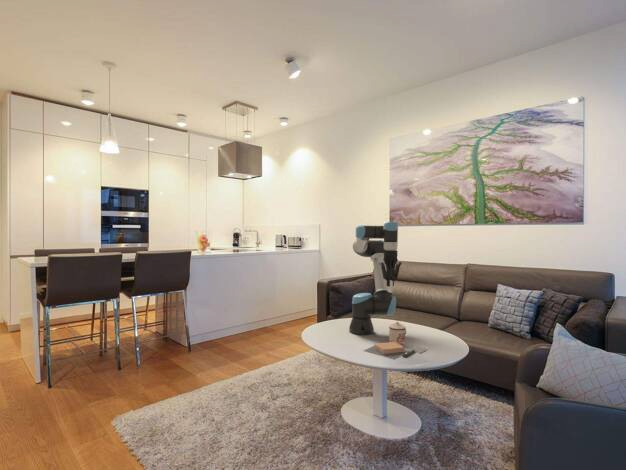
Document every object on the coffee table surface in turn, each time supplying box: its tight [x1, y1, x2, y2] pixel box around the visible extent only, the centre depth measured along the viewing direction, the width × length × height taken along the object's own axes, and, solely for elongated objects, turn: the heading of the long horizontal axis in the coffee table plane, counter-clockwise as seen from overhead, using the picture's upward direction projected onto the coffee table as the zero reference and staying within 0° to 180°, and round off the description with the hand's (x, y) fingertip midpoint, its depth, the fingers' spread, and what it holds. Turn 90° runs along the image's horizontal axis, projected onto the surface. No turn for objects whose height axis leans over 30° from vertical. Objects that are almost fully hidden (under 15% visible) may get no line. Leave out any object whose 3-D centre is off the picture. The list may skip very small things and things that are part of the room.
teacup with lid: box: [388, 321, 407, 345], centre depth 195 cm, size 12×9×12 cm
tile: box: [374, 342, 405, 355], centre depth 179 cm, size 3×9×12 cm
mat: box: [363, 345, 410, 360], centre depth 179 cm, size 18×16×1 cm
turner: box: [402, 346, 428, 359], centre depth 177 cm, size 20×6×2 cm, turn 138°
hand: (390, 292), depth 193 cm, fingers closed
